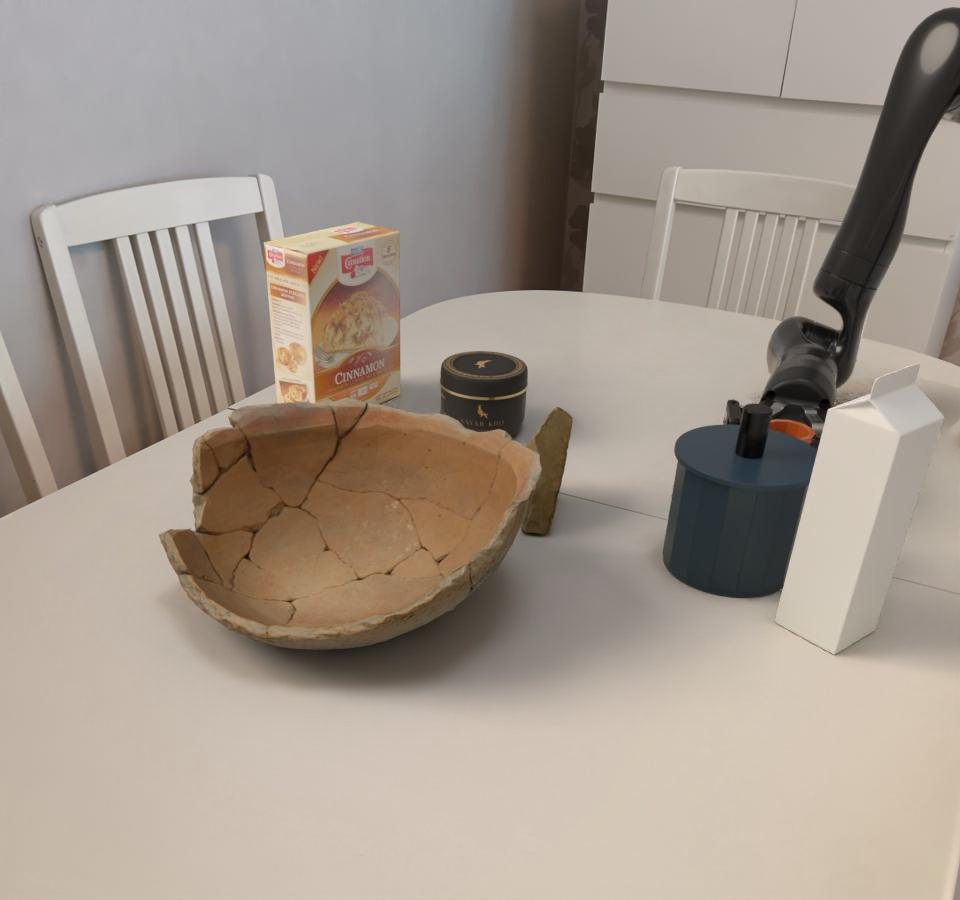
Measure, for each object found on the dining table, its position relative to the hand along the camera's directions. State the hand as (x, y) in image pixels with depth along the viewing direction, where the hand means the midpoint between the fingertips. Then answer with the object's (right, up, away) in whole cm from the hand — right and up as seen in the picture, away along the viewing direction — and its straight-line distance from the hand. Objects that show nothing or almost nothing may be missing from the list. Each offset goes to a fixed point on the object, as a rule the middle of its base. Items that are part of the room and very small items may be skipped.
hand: (780, 459), depth 92 cm
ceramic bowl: (-39, -13, -8) cm, 42 cm away
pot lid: (-6, -2, -9) cm, 11 cm away
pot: (-6, -10, -3) cm, 12 cm away
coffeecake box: (-45, +11, +26) cm, 53 cm away
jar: (-28, +7, +21) cm, 36 cm away
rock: (-24, -4, +5) cm, 25 cm away
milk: (0, -16, -11) cm, 20 cm away
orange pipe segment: (+1, -4, +5) cm, 7 cm away
